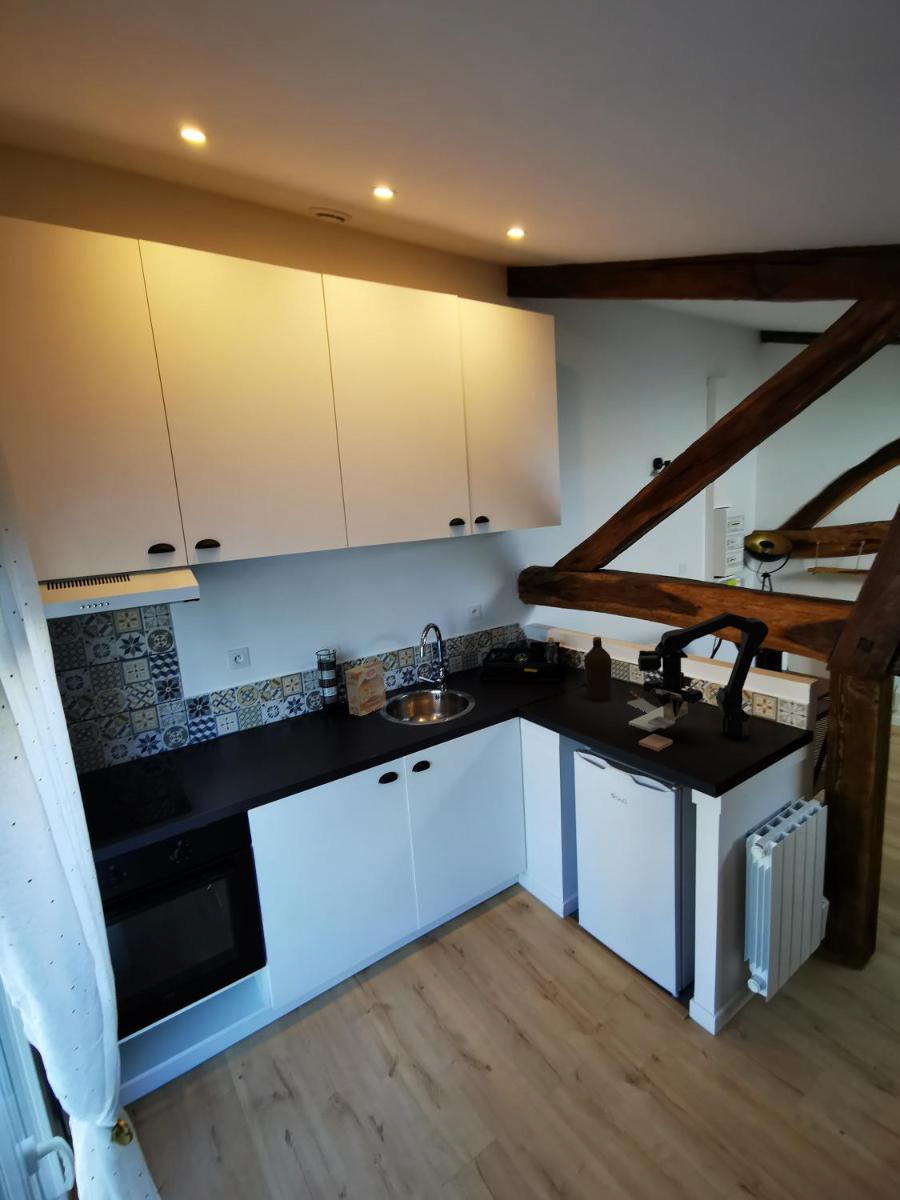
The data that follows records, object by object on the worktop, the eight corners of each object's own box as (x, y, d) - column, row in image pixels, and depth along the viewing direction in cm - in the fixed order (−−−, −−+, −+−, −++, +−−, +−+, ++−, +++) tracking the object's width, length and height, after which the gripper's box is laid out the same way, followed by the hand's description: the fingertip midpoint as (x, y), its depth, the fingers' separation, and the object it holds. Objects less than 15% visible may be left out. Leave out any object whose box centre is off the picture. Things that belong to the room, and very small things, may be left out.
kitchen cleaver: (613, 693, 228) (637, 689, 229) (613, 695, 228) (637, 691, 229) (639, 716, 204) (665, 711, 205) (639, 718, 204) (665, 714, 205)
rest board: (687, 713, 203) (687, 711, 203) (651, 731, 191) (651, 729, 191) (665, 707, 211) (665, 704, 210) (628, 724, 198) (628, 721, 198)
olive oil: (617, 696, 225) (616, 636, 221) (603, 704, 218) (601, 642, 214) (595, 691, 233) (593, 633, 229) (580, 699, 226) (578, 639, 222)
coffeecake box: (361, 720, 223) (356, 673, 219) (349, 717, 227) (344, 670, 223) (387, 707, 234) (383, 662, 231) (375, 704, 239) (370, 660, 235)
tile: (672, 739, 181) (657, 747, 176) (672, 744, 181) (657, 752, 177) (653, 733, 187) (638, 741, 182) (653, 738, 187) (638, 746, 182)
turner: (676, 710, 192) (676, 696, 192) (692, 714, 188) (692, 700, 187) (647, 723, 183) (647, 709, 182) (664, 728, 179) (664, 713, 178)
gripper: (712, 670, 180) (712, 715, 183) (661, 659, 195) (661, 701, 198) (693, 678, 174) (693, 725, 177) (641, 666, 189) (642, 710, 192)
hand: (672, 715), depth 186 cm, fingers closed on turner, 2 cm apart
